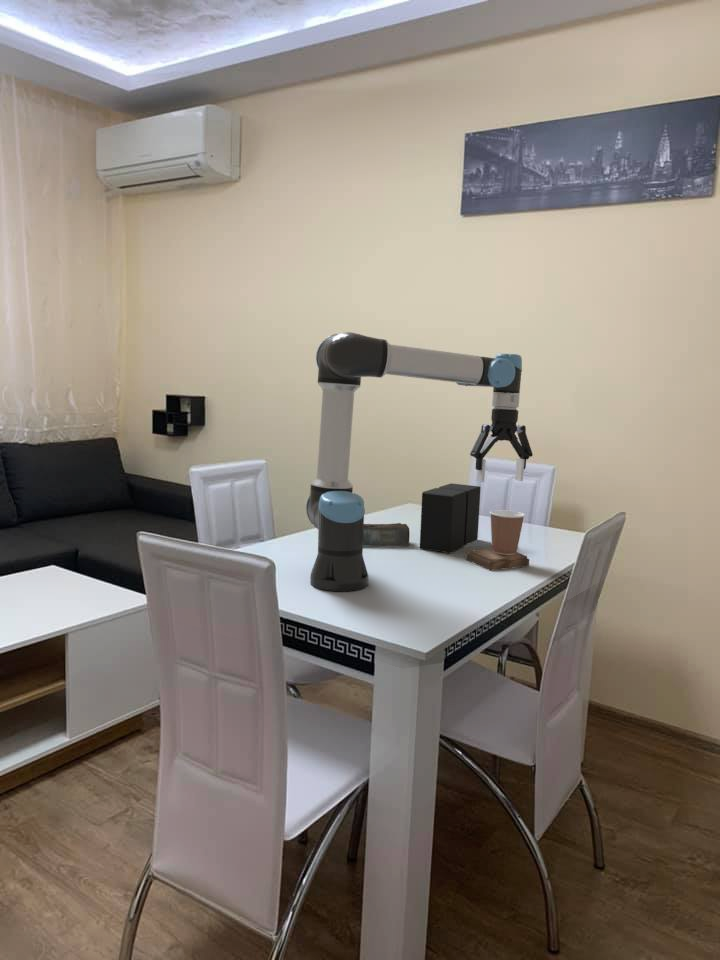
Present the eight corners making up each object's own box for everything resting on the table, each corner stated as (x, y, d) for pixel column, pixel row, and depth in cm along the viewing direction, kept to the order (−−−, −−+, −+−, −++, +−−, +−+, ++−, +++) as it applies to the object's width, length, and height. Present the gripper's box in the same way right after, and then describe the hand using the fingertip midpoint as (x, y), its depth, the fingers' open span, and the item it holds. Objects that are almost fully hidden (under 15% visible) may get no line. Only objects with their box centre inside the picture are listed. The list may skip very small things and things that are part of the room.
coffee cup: (528, 553, 209) (531, 514, 207) (510, 558, 201) (513, 517, 200) (498, 546, 216) (501, 508, 214) (480, 551, 208) (483, 512, 207)
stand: (489, 570, 200) (489, 560, 199) (466, 559, 210) (466, 550, 210) (528, 566, 205) (529, 556, 205) (504, 556, 216) (505, 547, 216)
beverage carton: (349, 540, 231) (350, 521, 230) (406, 541, 233) (407, 522, 232) (350, 546, 224) (351, 526, 223) (410, 547, 225) (411, 527, 224)
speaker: (448, 535, 244) (451, 483, 241) (477, 539, 238) (480, 486, 236) (418, 549, 222) (421, 491, 219) (450, 554, 217) (453, 495, 214)
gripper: (475, 407, 192) (470, 483, 195) (548, 409, 203) (542, 481, 206) (461, 406, 199) (456, 479, 202) (532, 408, 209) (526, 478, 212)
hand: (499, 481), depth 204 cm, fingers open, 13 cm apart
